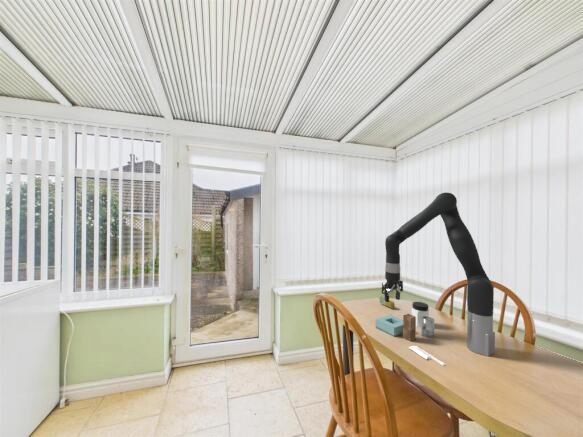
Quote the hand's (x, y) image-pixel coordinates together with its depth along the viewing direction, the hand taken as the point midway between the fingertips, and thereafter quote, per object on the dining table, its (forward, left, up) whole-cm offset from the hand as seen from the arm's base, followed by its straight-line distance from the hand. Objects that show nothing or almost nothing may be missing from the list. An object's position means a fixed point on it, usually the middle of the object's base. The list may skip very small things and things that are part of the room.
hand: (392, 300), depth 129 cm
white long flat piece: (-25, +10, -16) cm, 31 cm away
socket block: (0, 0, -16) cm, 16 cm away
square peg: (-11, +1, -16) cm, 20 cm away
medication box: (+27, -28, -16) cm, 42 cm away
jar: (-3, -20, -16) cm, 26 cm away
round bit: (-13, -11, -16) cm, 23 cm away
